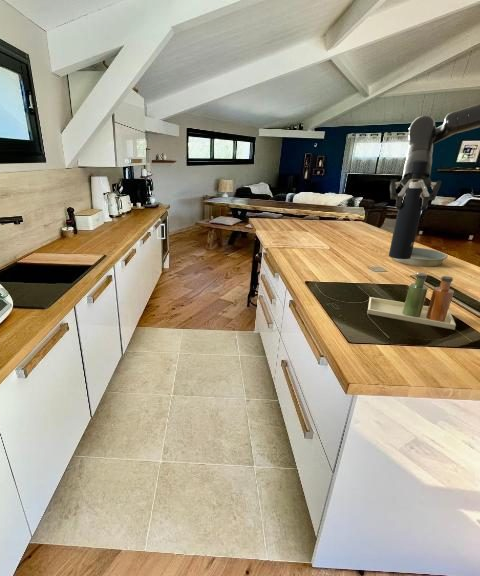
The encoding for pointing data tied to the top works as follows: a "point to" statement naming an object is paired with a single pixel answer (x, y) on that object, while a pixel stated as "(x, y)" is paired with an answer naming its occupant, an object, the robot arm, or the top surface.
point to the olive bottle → (415, 296)
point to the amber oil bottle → (440, 300)
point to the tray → (395, 311)
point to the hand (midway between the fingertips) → (410, 208)
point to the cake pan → (424, 258)
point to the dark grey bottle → (408, 216)
